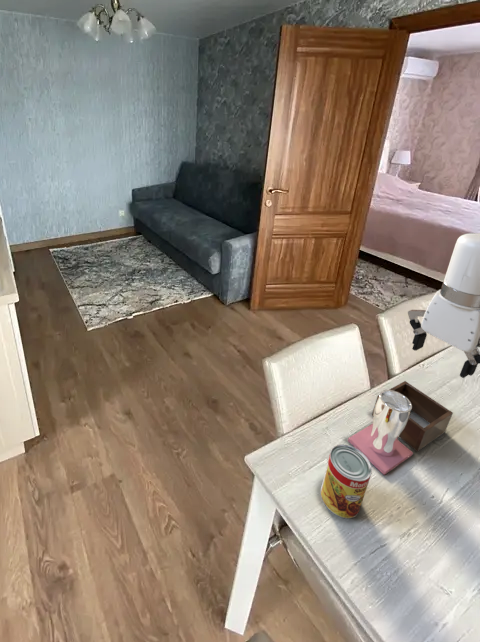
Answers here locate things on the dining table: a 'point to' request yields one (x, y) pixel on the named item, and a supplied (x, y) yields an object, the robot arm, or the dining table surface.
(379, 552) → the dining table surface
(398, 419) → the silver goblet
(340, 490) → the canned food
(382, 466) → the mat
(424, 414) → the brown wooden box
